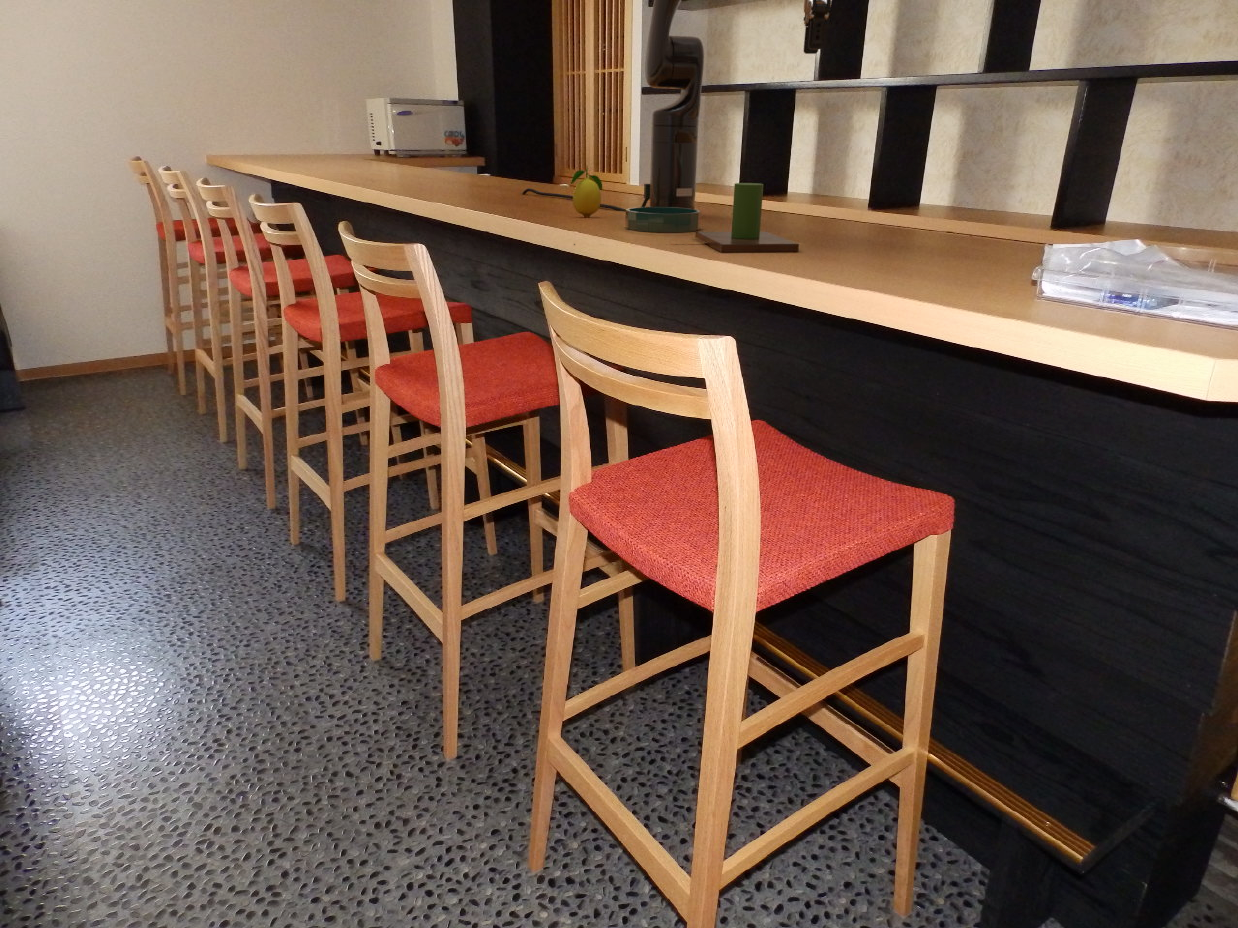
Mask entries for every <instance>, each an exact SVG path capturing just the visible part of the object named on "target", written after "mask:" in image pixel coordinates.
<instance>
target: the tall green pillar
mask: <svg viewBox="0 0 1238 928" xmlns="http://www.w3.org/2000/svg"><path fill="white" fill-rule="evenodd" d="M763 193H764V184H763V183H757V182H756V183H755V182H736V183H734V185H733V203H732V204H733V205H732V218H731V219H732V221H731V231H732V234H731V237H732V238H738V239H758V238H759V237H760V231H761V224H762V223H761V222H762V209H763V196H764V195H763Z"/></svg>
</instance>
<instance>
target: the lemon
mask: <svg viewBox="0 0 1238 928" xmlns="http://www.w3.org/2000/svg"><path fill="white" fill-rule="evenodd" d="M588 169H589V167H588V165H586V169H585V170H582V169H579V170H576V171H575V172H574V174H573V176H572V178H571V181H570V184H571V185H572V184H574V183H575V182H576V181H577V180H578V179H579V178H581V177H582V176H583V175H584V174H585V177H584V179H581V180H580V181H578V183H577V184H576V186H575V187H574V190H573V194H572V196H573V199H572V205H573V208H574V210H575V212H577V213H578V214H580V215H582V216H583V217H584V218H590V217H591V216H592V215H594V214H595V213H597V212H598V211H599V209H600V208H601V207H600V204H602V203H601V201H602V195H601V194H602V193H601V191H603V183H602V180H601V179H600V178H599V176H598V175H594V174H589V173H588Z"/></svg>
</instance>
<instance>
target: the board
mask: <svg viewBox="0 0 1238 928" xmlns="http://www.w3.org/2000/svg"><path fill="white" fill-rule="evenodd" d="M731 234H732V230H730V231H724V230H723V231H695V238H696V239H698V240H701V241H703V242H704V243H703V244H704V245H705V246H708V247H710V248H712V249H714V250H716V251H718V252H720V253H798V252H799V249H800V244H799V243H798V242H795V241H792V240H789V239H787V238H784V237H782V236H779V235H777V234H773V233H770V232H768V231H765V230H763V231H762V230H760V237H759V238H758V239H738V238H732V237H731Z"/></svg>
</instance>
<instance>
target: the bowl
mask: <svg viewBox="0 0 1238 928" xmlns="http://www.w3.org/2000/svg"><path fill="white" fill-rule="evenodd" d="M701 212H702V211H701V210H699V209H697V208H695V209H690V208H678V207H650V206H645V207H641V206H638V207H629V208H626V211H625V223H624V224H625V229H627V230H630V231H636V232H642V233H643V232H644V233H661V234H662V233H664V234H665V233H670V234H671V233H676V234H677V233H690V232H698V231H699V230H700V229H701Z"/></svg>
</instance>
